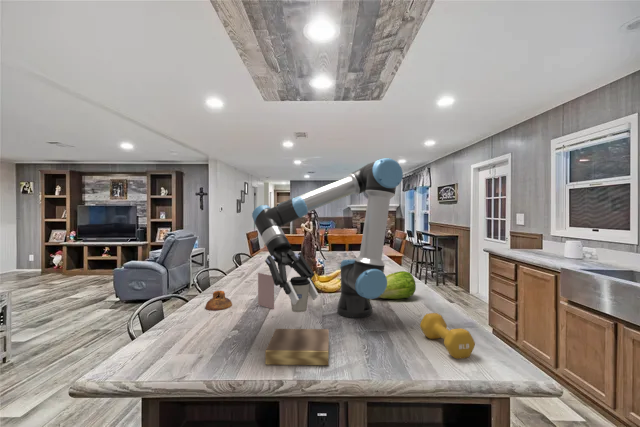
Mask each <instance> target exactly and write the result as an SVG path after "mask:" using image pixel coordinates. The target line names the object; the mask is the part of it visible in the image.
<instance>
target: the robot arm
mask: <svg viewBox="0 0 640 427" xmlns="http://www.w3.org/2000/svg"><path fill="white" fill-rule="evenodd" d="M403 176H404V172H403V169H402V167H401V165H400V164H399V163H398V161H396V160H395V159H393V158H391V157H390V158H388V157H385V158H380V159H378V160H376V161H372V162H370V163H367V164H366V165H364V166H362V167H361V168H359V169H357V170H355V171H353V172H351V173H348V174H347V177H344V178H342V179H339V180H337V181H334V182H331V183H328V184H326V185H323V186H321V187H318V188H316V189H313V190H311V191H308V192H306V193H305V192H304V193H303V194H300V195H298V196H296V197H294V198H290V199H287V200H285V201H282V202H279V203H278V205H276V206H273V207H270V206H269V205H267V204H263V205H262V204H261V205H258V206H256V207H255V208H254V210H253V211H252V212H251V217H252V220H253V222H254V225H255V227H256V228H257V231H258V232H259V235H260V237H261V238H262V241H263V242H264V246H265V247H266V248H267V251H268V253H269V255H268V256H267V257H266V259H265V260H264V262H265V263H266V264H267V266H268V269H269V271H270V275H271V276H272V278H273V281H274V286H279V288H280V289H283V291H284V293H285V294H286V295H287V296H288V298H289V299H290V303H291V302H292V304H293V305H295V304H296V303H297V302H298V300H299V298H298V296H297V294H296V292H295V290H294V288H293V286H292V284H291V282H290V280H288V279H287V278H288V276H287V268H286V266H288V267H290V268H291V269H293V270H294V271H295V272H296V273H297V274H298V276H299V277H306V278H307V280H309V281H310V284H309V293H308V295H310V297H311V300H312V301H315V300H316V299H317V298H318V296H319V295H320V294H319V293H318V291H317V289H316V288H315V287H316V284H315V283H314V281H313V279H312V278H314V276H315V272H314V271H313V269H312V268H311V266H310V265H309V263H308V261H306V259H305V258H304V254H303V253H302V252H301V251H299V252H298V253H297V252H296V253H295V252H294V250H292V247H291V246H292V245H291V243H290V242H289V240H288V237H287V236H286V234H285V232H284V230H283V228H282V227H284V226H285V225H287V224H290V223H291V222H294V221H296V220H298V219H301V218H303V217H304V216H307V215H308V213H309V212H311V211H314V210H316V209H319V208H321V207H324V206H326V205H329V204H331V203H333V202H335V201H339V200H341V199H343V198H346V197H349V196H350V195H353V194H354V195H359V194H362V193H366V195H367V196H368V198H367V203H366V210H365V218H364V223H363V231H362V237H361V243H360V244H361V245H360V250H359V256H358V257H356V258H353V259H352V258H351V259H348V258H347V259H342V260H341V263H340V296H339V300H338V303H337V305H336V312H337V314H338V315H340V316H342V317H346V318H351V319H354V318H355V319H359V318H367V317H369V316H371V315H372V314H373V307H372V306H373V305H372V303H371V301H370V300H373V299H377V298H379V296H380V295H382V294H383V293H384V291H385V289H386V287H387V278H386V276H387V275H386V274H385V265H386V264H385V263H384V261H383V260H382V258H383V251H384V244H385V238H386V231H387V225H388V224H387V223H388V216H389V210H390V203H391V199H392V198H393V197H394V196H396V192H397V191H396V189H397V186H399V185H400V184H401V183H402V181H403ZM276 263H277V264H276Z"/></svg>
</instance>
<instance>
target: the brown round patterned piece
mask: <svg viewBox="0 0 640 427" xmlns="http://www.w3.org/2000/svg"><path fill="white" fill-rule="evenodd" d="M232 306H233V303H232V301H231V299H230V298H228V297H226V293H225V291H224V290H215V291H214V292H213V293H212V298H210V299H209V300H207V302H206V304H205V309H206V310H208V311H213V312H215V311H223V310H228V309H230V308H231V307H232Z"/></svg>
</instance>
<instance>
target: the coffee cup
mask: <svg viewBox="0 0 640 427" xmlns="http://www.w3.org/2000/svg"><path fill="white" fill-rule="evenodd" d="M306 277H307V276H306ZM306 277H301V276H293V277H291V278H290V280H289V281H290V282H291V284H292V286H293V288H294V290H295V292H296V294H297V296H298V298H299V300H298V302H297V303H296V304H295V305H293V304H292V302H291V301H290V304H291V311H292V312H293V313H304V312H306V311H307V309H308V303H309V301H308V300H309V284H310V281H309V280H307V278H306Z"/></svg>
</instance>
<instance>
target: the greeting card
mask: <svg viewBox="0 0 640 427" xmlns="http://www.w3.org/2000/svg"><path fill="white" fill-rule="evenodd" d="M257 294H258V295H257V304H258V306H262V307H266V308H268V309H272V310H275V284H274V281H273V278H272V275H271V274H265V273H263V272H262V273H261V272H258V273H257Z"/></svg>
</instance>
